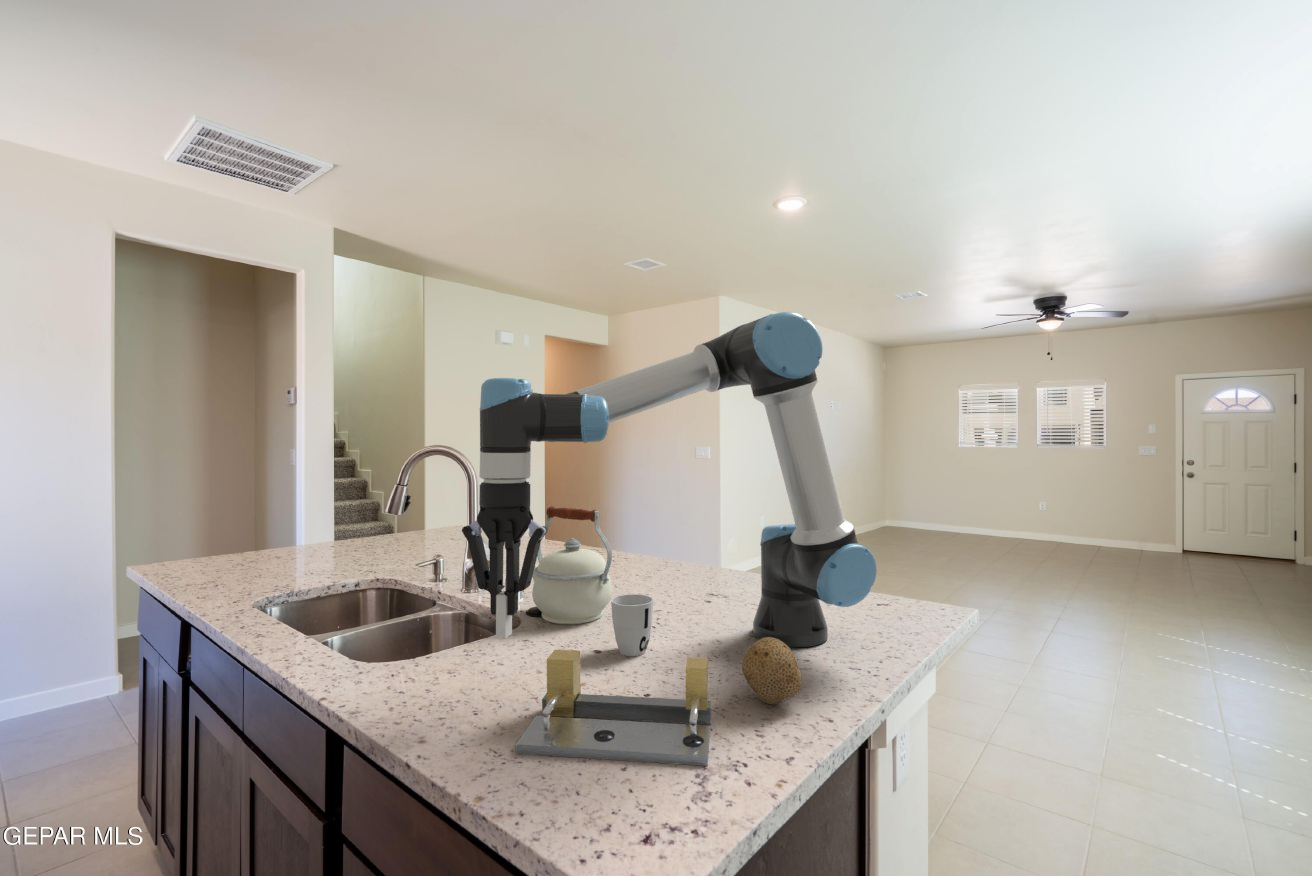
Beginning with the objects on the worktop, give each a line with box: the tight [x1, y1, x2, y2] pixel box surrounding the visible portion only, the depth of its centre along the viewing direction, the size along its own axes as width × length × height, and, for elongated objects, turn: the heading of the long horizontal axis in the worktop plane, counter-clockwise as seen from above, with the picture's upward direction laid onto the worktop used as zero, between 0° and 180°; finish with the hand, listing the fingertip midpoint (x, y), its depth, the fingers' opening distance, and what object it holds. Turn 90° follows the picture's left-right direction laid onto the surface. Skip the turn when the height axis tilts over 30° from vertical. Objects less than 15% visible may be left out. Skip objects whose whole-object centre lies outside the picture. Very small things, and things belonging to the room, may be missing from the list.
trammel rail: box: [541, 656, 712, 740], centre depth 86 cm, size 25×11×8 cm, turn 83°
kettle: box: [531, 505, 613, 625], centre depth 140 cm, size 25×18×25 cm
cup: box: [610, 593, 654, 657], centre depth 116 cm, size 8×8×10 cm
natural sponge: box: [741, 637, 802, 705], centre depth 94 cm, size 9×9×10 cm
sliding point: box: [541, 649, 582, 731], centre depth 87 cm, size 4×11×8 cm, turn 173°
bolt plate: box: [515, 715, 711, 767], centre depth 81 cm, size 25×8×1 cm, turn 83°
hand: (504, 635), depth 91 cm, fingers closed
